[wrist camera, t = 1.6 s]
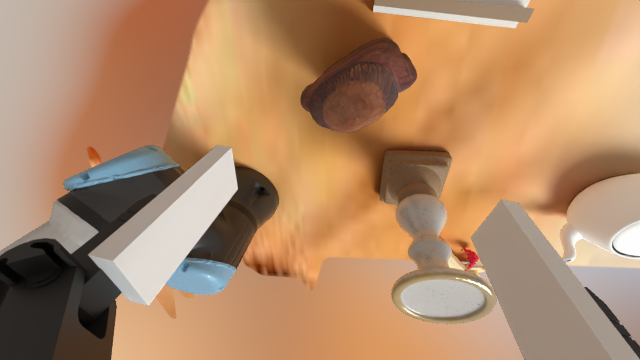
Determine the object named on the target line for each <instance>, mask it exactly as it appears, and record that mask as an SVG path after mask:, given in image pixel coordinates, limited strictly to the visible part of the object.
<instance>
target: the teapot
mask: <svg viewBox="0 0 640 360" xmlns="http://www.w3.org/2000/svg"><path fill="white" fill-rule="evenodd" d="M567 222H568V223H567V224H565V225H564V226H563V227H562V229H561V230H560V239H561V242H562V245H563V249H564V255H563V257H562V259H563V261H564V262H565V263H566V264H567V263H569V262H572V261H573V260H574V259H575V257H576V251H575V243H576V242H577V241H578V240H579V239H581V238H583V239H585V240H586V241H588V242H590V243H592V244H594V245H596V246H598V247H600V248H602V249H604V250H606V251H609V252H611V253H613V254H616V255H618V256H621V257H625V258H631V259H640V173H638V174H629V175H623V176H617V177H613V178H608V179H605V180H602V181H599V182H597V183H595V184H593V185H591V186H589V187H587V188H586V189H584V190H583V191H581V192H580V193H579V194H578V195H577V196H576V197H575V198H574V200H573V201H572V202H571V204H570V206H569V207H568V210H567Z"/></svg>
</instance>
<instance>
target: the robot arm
mask: <svg viewBox="0 0 640 360" xmlns="http://www.w3.org/2000/svg"><path fill="white" fill-rule="evenodd" d="M180 166H181V165H180V164H179V163H176V162H175V161H174V160H173V159H172V158H171V157H170V156H169V155H168V154H167V153H166V152H165V151H164V150H163V149H162V148H160V147H158V146H153V145H150V146H145V147H141V148H139V149H136V150H133V151H131V152H128V153H126V154H123V155H121V156H118V157H116V158H114V159H111V160H109V161H106V162H104V163H102V164H99V165H97V166H95V167H93V168H90V169H88V170H86V171H84V172H82V173H79V174H77V175H74V176H72V177H70V178H68V179H66V180H65V181H64V182H63V185H64V186H65V189H66V190H67V191H69V190H70V192H69V193H68V194H66V195H64V196H63V197H61V198H59V199H57V200H56V201H54V202H53V208H52V214H51V217H50V219H49V221H47V222H46V223H44V224H43V225H41V226H40V227H38V228H36V229H35V230H33V231H31V232H30V233H28V234H27V235H25V236H23V237H22V238H20V239H19V240H17V241H15V242H14V243H12V244H10V245H9V246H7V247H6V248H4V249H3V250H1V251H0V360H111V354H112V345H113V335H114V326H115V317H116V308H117V306H116V301H115V299H116V298H117V297H118V296H119V295H120V294H121V293H122V294H123V295H124V296H125V297H126V298H127V300H128V301H131V302H135V303H139V304H143V305H147V306H149V304H150V303H151V302H152V301H153V299H154V298H155V297H156V295H157V294H158V293H159V291H160V290H161V289H162V288H163V286H164V285H165V284H166V285H168V286H170V287H172V288H175V289H178V290H181V291H184V292H188V293H193V294H201V295H210V294H215V293H218V292H220V291H222V290H223V289H224V288H225V287H226V285H227V284H228V282H229V281H230V279H231V277H232V276H233V274H234V273H235V272H236V270H237V267H238V265H239V263H240V261H241V259H242V257H243V255H244V254H245V252H246V250H247V248H248V246H249V244H250V242H251V240H252V238H253V236H254V234H255V233H256V231H257V229H258V228H260V227H261V226H262V225H263V224H264V223H265V222H266V221H267V220H269V219H270V218H271V217H272V216H273V214H274V213H275V211H276V209H277V207H278V204H279V196H278V193H277V191H276V189H275V187H274V186H273V184H272V183H271V182H270V181H269V180H268V179H267V178H266V177H264V176H263V175H262V174H260V173H258V172H256V171H254V170H251V169H248V168H243V167H235V166H234V160H233V153H232V148H231V147H226V146H221V145H217V146H216V147H214V148H213V149H212V150H211V151H210V152H209V153H207V154H206V155H205V156H204V157H203V158H201V159H200V160H199V161H198V162H197V163H196V164H194V165H193V166H192V167H191V168H190V169H188V170H187V171H186V172H185V171H184V170H183V169H182V168H181V167H180ZM471 239H472V242H473V244H474V246H475V249H476V251H477V253H478V255H479V258H480V260H481V262H482V264H483V267H484V269H485V271H486V274H487V276H488V278H489V280H490V283H491V285H492V287H493V289H494V292H495V294H496V296H497V298H498V301H499V303H500V305H501V307H502V310H503V312H504V314H505V317H506V319H507V321H508V324H509V326H510V328H511V330H512V332H513V335H514V337H515V339H516V342H517V344H518V346H519V349H520V351H521V353H522V355H523V358H524V360H640V346H639V345H638V344H637V343H636V341H634V340H632V339H631V335H630V334H629V333H628V332H627V330H626V329H625V328H624V326H623V325H620V324H619V320H618V319H617V318H616V316H615V315H614V314H613V313H612V312H611V310H610V309H609V308H608V306H607V305H606V304H605V303H604V302H603V301H602V300H601V299H599V298H598V297H597V296H596V295H595V294H594V293H593V292H591V291H590V290H589V289H588V288H587V287H583V285H582V284H581V283H580V282H579V280H578V279H577V278H576V276H575V275H574V274H573V273H572V271H571V270H570V268H569V267H568V266H567V265H566V263H565V262H564V261H563V259H562V258H561V257H560V256H559V254H558V253H557V252H556V250H555V249H554V248H553V247H552V245H551V244H550V243H549V241H548V240H547V239H546V237H545V236H544V235H543V234H542V232H541V231H540V230H539V228H538V227H537V226H536V225H535V223H534V222H533V221H532V219H531V218H530V217H529V216H528V214H527V213H526V212H525V210H524V209H523V208H522V206H521V205H520V204H519V203H516V202H511V201H506V200H501V201H500V202H499V203H498V204H497V206H496V207H495V208H494V209H493V211H492V212H491V213H490V214H489V216H488V217H487V218H486V219H485V221H484V222H483V223H482V224H481V226H480V227H479V228H478V229H477V231H476V232H475V233H474V234H473V235H472V237H471Z"/></svg>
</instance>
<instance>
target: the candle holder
mask: <svg viewBox="0 0 640 360" xmlns="http://www.w3.org/2000/svg"><path fill="white" fill-rule="evenodd" d="M451 161H452V158H451V156H450V154H449V153H448V152H439V151H415V150H386V151H385V154H384V160H383V168H382V176H381V183H380V201H384V202H385V203H388V204H394V205H398V206H397V209H396V220H397V222H398V224H399V226H400V227H401V228H402V229H403V230H404V231H405V232H406V233H407V234H409V235H410V236H411V237H412V238H413V242H412V244H411V245H410V247H409V249H408V255H409V257H410V258H411V259H412V260H413V261H414V262H415V263H416V264H417V266H418V270H415V271H412V272H410V273H407V274H405V275H403V276H402V277H400V278H399V279H398V280H397V281H396V282H395V284H394V285H393V287H392V293H391V295H392V300H393V302H394V304H395V306H396V307H397V308H398V309H399V310H401V311H402V312H403V313H405V314H407V315H408V316H411V317H413V318H416V319H419V320H422V321H426V322H432V323H441V324H456V323H464V322H469V321H473V320H477V319H479V318H482V317H484V316H486V315H487V314H489V313H490V312H491V311H492V310H493V308H494V307H495V305H496V302H497V299H496V294H495V292H494V290H493V288H492V287H491V286H490V285H489V284H488V282H486V281H485V280H484V279H483V278H481V277H479V276H477V275H475V274H473V273H470V272H467V271H464V270H460V269H454V268H450V267H449V265H448V260H449V259H450V257H451V255H452V250H451V247H450V246H449V245H448V244H447V243H446V242H445V241H443V240H442V239H440V238H439V235H440V233H441V231H442V229H443V228H444V226H445V224H446V221H447V210H446V207H445V205H444V204H443V203H442V201H440V200H439V198H440V195H441V192H442V189H443V186H444V183H445V180H446V177H447V174H448V171H449V168H450V165H451Z"/></svg>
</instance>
